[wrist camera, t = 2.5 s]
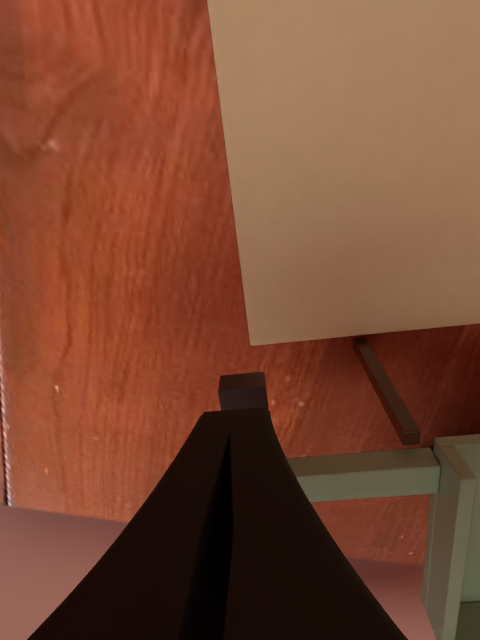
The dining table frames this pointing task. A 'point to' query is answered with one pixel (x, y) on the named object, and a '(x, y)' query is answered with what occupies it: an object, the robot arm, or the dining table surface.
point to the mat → (352, 162)
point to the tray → (398, 480)
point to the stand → (388, 395)
